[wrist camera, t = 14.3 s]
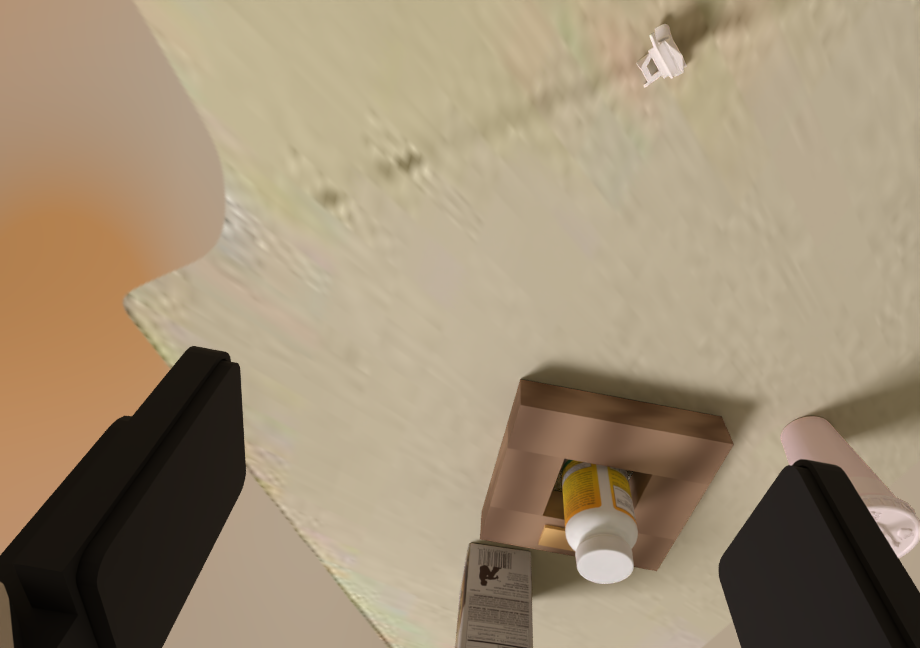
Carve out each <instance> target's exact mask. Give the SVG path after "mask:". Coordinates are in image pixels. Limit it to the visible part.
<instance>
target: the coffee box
mask: <svg viewBox="0 0 920 648" xmlns="http://www.w3.org/2000/svg"><path fill="white" fill-rule="evenodd" d="M455 648H533V629H532V571H531V552H529V551H523V550H516V549H509V548H502V547H495V546H489V545H482V544H475V543H470V544H469V546H468V550H467V556H466V562H465V567H464V573H463V579H462V585H461V590H460V596H459V608H458V620H457V632H456V643H455Z"/></svg>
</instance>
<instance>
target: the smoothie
mask: <svg viewBox="0 0 920 648" xmlns="http://www.w3.org/2000/svg"><path fill="white" fill-rule="evenodd" d="M781 441H782V444H783V447H784V450H785V453H786V456H787V459H788V462H789V465H791V466H792V465H793V464H794V463H795V462H796V461H797V460H800V459H806V460H812V461H817V462H822V463H828V464H833V465H837V466H839V467H841V468H842V469H843V471H844V472H845V473H846V474H847V476H848V478H849V479H850V481H851V482H852V484H853V486H854V487H855V489H856V491H857V492H858V494H859V495H860V497H861V499H862V500H863V502H864V504H865V505H866V507H867V508H868V510H869V512H870V513H871V515H872V516H873V518H874V520H875V521H876V523H877V525H878V526H879V528H880V529H881V531H882V533H883V534H884V536H885V537H886V539H887V541H888V542H889V544H890V546H891V547H892V549H893V550H894V552H895V554H896V555H897V557H898V558H900V557H902V556H904V555H905V554H907V553H908V552H909V551H911V550H912V549H913V548H914V547H915V546H916V544H917V543H918V542H919V540H920V520H919V518H918V517H917V516H916V514H915V511H914V509H913V508H912V507H911V506H910V505H909V504H908V503H907V502H905V501H903V500H901V499H899V498H896V497H895V495H894V494H893V493H892V492H891V491H890V490H889V488H888V487H887V486H886V485H885V484H884V483H883V482H882V481H881V480H880V479H879V477H878V476H877V475H876V474H875V473H874V472H873V471H872V470H871V469H870V467H869V466H868V465H867V464H866V463H865V462H864V461H863V460H862V459H861V457H860V456H859V455H858V454H857V453H856V452H855V451H854V450H853V448H852V447H851V446H850V445H849V444H848V443H847V442H846V441H845V440H844V438H843V437H842V436H841V435H840V434H839V433H838V432H837V431H836V430H835V428H834V427H833V426H832V425H831V424H830V423H829V422H828V421H827V420H826V419H824V418H821V417H816V416H808V417H802V418H799V419H796V420H794V421H792V422H791V423H789V424H788V425H787V426H786V427H785V428H784V429H783V431H782V433H781Z"/></svg>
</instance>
